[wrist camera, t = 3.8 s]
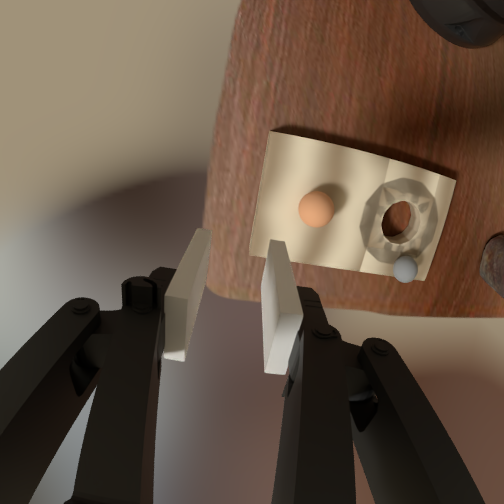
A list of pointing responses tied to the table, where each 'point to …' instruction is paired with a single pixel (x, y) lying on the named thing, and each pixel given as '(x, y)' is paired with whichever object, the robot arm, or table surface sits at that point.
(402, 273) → the grey ball
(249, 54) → the table surface
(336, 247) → the board
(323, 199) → the orange ball
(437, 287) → the table surface
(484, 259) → the candle
